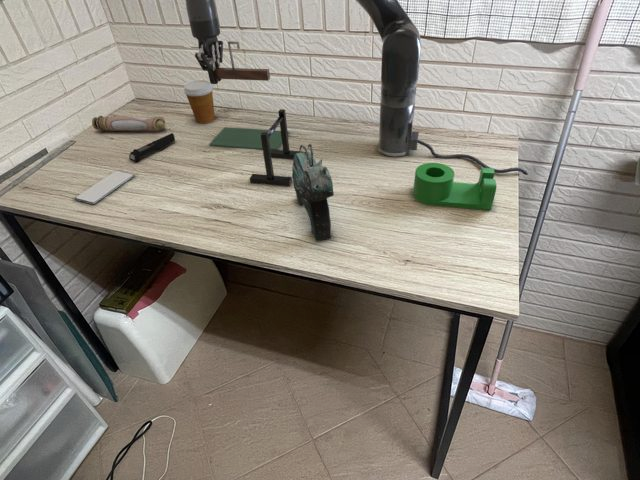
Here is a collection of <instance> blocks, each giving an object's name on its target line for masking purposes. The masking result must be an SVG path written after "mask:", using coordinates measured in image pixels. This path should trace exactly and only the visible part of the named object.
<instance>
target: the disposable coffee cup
mask: <svg viewBox="0 0 640 480" xmlns="http://www.w3.org/2000/svg"><path fill="white" fill-rule="evenodd" d="M213 90H214V86H213V84H211V83H210V80H205V79H198V80H193V81H189V82H187V83H185V84H184V86H183V93H184V94H185V95H186V98H187V100H188V104H189V106H190V108H191V110H192V114H193V116H194V118H195V121H196V123H198V124H208V123H212V122H213V121H215V119H216V116H215V107H214V105H215V104H214V96H213V95H214V94H213Z"/></svg>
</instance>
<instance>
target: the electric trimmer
mask: <svg viewBox="0 0 640 480" xmlns="http://www.w3.org/2000/svg"><path fill="white" fill-rule="evenodd" d="M175 140H176V139H175V133H173V132H171V133H169V134H167V135H164V136H163V137H160V138H158V139H155V140H153V141H151V142H149V143H147V144H146V145H143V146H140V147H138V148H134V149H133V150H132V151H130V153H129V156H128V157H129V160H130V162H132V163H139V162H140V160H141V159H143V158H145V157H147V156H149V155H150V154H152V153H154V152H156V151H161V150H163V149H164V148H166V147H167V146H169V145H170V144H172V143H173V142H174V141H175Z"/></svg>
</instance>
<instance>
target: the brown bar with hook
mask: <svg viewBox="0 0 640 480" xmlns="http://www.w3.org/2000/svg"><path fill="white" fill-rule="evenodd" d="M231 45H236V48H237V50H240V49H241V46H240V42H239V41H230V40H229V41H227V47H228V52H229V58H230V63H231V67H219V68H216V74H217V79H222V80H238V81H239V80H240V81H242V80H243V81H262V82H263V81H267V82H269V80H270V79H271V75H270V68H248V67H246V68H244V67H235V62H234V57H233V53H232V46H231ZM207 75H208V76H209V74H208V73H207Z"/></svg>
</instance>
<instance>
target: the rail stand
mask: <svg viewBox="0 0 640 480" xmlns="http://www.w3.org/2000/svg"><path fill="white" fill-rule="evenodd" d="M277 113H278V117H277V118H276V120H275V121H274V123H273V124H271V126H270V128H269V129H268V130H269V131H268V132H267V133H266V132H262V134H261V141H262V148H263V150H262V154H263V160H264V166H265V173H266V174H262V173H261V174H260V173H252V174H251V175H250V177H249V182H250V184H256V185H257V184H258V185H267V186H269V185H270V186H280V187H289V188H290V187H291V185H292V184H293V177H292V176H283V175H275V172H274V166H273V160H272V159H282V160H283V159H284V160H294V155H295V154H296V153H299V150H290V142H289V141H290V140H289V134H288V132H287V131H288V123H287V113H286V109H284V108H283V109H282V108H281V109H278V112H277ZM278 127H279V128H280V129H279V131H281V138H282V144H281V146H282V149H278V150H276V149H270V143H269V137H270V136H271V135H272V133H273V132H274V130H275V131H276V129H277V128H278ZM301 152H305V150H304V151H302V150H301Z"/></svg>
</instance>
